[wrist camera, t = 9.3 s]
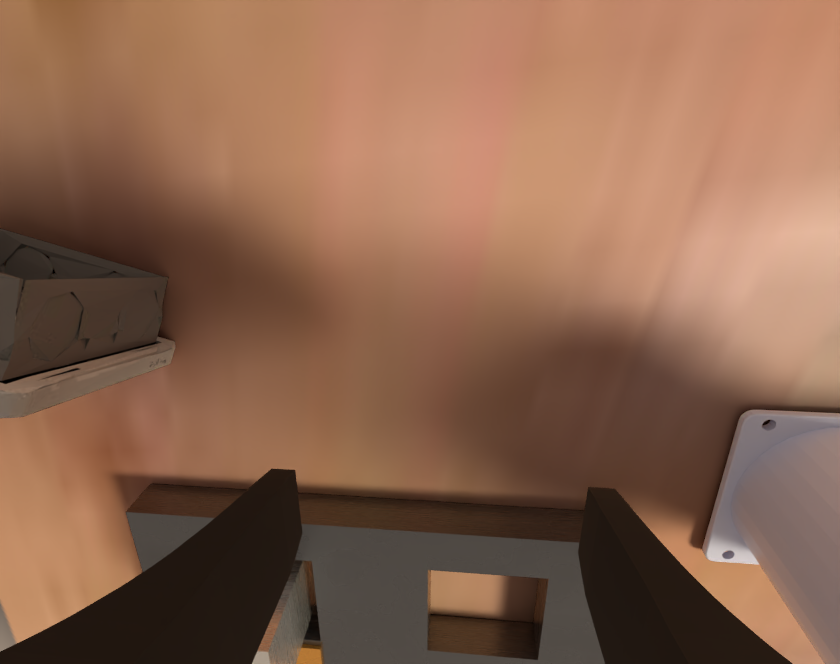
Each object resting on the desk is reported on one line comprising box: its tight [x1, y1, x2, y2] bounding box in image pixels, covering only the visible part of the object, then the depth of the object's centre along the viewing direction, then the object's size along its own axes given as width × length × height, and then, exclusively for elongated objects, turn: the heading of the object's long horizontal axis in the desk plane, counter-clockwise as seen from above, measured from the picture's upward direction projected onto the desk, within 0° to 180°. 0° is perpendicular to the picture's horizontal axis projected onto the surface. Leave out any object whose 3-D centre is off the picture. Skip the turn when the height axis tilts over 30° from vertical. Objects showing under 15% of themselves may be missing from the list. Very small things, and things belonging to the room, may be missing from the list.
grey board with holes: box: [126, 484, 605, 664], centre depth 25 cm, size 23×10×2 cm, turn 90°
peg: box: [252, 560, 316, 664], centre depth 24 cm, size 4×4×6 cm
